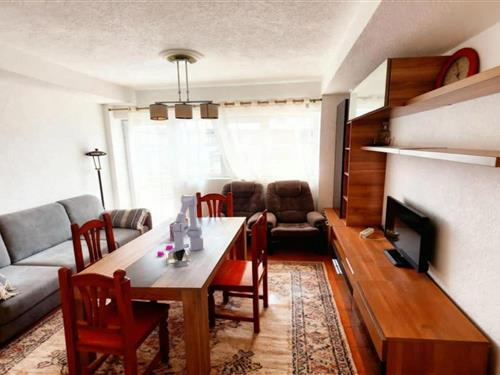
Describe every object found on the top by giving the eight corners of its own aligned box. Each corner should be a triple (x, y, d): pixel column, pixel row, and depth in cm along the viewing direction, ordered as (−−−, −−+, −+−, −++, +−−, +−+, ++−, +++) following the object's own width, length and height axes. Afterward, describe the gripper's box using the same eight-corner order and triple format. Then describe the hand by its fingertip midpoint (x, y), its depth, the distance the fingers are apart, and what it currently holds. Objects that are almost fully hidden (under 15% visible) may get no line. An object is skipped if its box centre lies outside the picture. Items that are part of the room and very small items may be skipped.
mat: (186, 262, 183) (186, 261, 183) (188, 266, 176) (188, 265, 176) (172, 264, 180) (172, 263, 180) (173, 268, 173) (173, 267, 173)
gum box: (177, 240, 226) (176, 225, 224) (169, 239, 228) (168, 225, 226) (188, 231, 248) (188, 218, 246) (181, 231, 249) (180, 218, 247)
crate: (186, 255, 194) (186, 249, 193) (188, 260, 185) (188, 254, 184) (166, 258, 189) (165, 252, 188) (167, 264, 180) (166, 258, 179)
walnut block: (181, 254, 187) (179, 250, 181) (180, 259, 185) (179, 256, 179) (175, 254, 186) (173, 250, 181) (174, 260, 184) (172, 256, 178)
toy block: (165, 253, 210) (165, 244, 209) (173, 254, 208) (172, 245, 207) (154, 261, 195) (154, 251, 194) (162, 262, 194) (161, 252, 193)
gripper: (184, 236, 183) (185, 255, 185) (165, 242, 172) (167, 262, 174) (190, 238, 179) (191, 258, 181) (172, 245, 168) (173, 265, 170)
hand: (180, 260), depth 177 cm, fingers closed
